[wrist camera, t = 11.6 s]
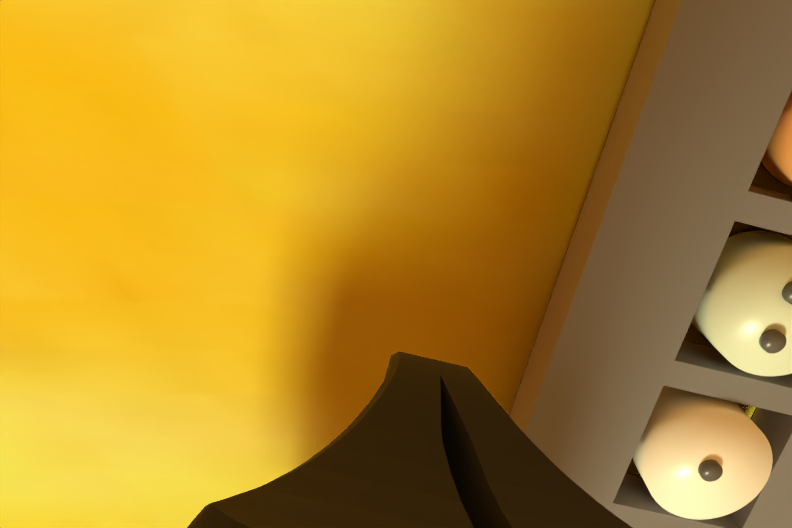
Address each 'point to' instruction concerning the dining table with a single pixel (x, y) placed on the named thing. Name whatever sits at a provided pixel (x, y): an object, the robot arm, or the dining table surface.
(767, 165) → the button three
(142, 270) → the dining table surface
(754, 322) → the button two
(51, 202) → the dining table surface
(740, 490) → the button one
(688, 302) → the button panel
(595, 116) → the dining table surface
